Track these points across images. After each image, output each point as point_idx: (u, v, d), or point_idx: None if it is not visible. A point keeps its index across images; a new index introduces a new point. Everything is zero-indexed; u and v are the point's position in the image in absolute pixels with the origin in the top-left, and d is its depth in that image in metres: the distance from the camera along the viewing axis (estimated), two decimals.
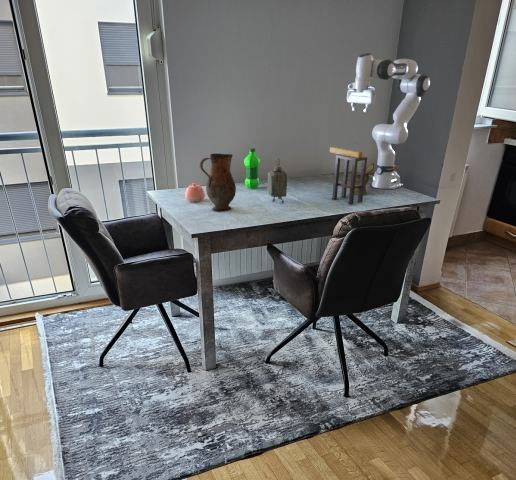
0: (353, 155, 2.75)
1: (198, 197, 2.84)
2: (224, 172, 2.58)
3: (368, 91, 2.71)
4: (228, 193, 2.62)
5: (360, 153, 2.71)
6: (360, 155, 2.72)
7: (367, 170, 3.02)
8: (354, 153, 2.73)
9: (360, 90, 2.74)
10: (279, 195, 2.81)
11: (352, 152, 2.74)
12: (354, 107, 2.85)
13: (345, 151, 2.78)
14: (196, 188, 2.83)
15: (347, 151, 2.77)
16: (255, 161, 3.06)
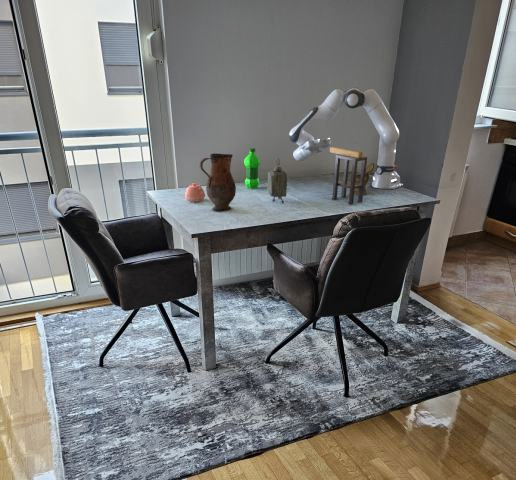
0: (353, 155, 2.75)
1: (198, 197, 2.84)
2: (224, 172, 2.58)
3: (306, 149, 3.04)
4: (228, 193, 2.62)
5: (360, 153, 2.71)
6: (360, 155, 2.72)
7: (367, 170, 3.02)
8: (354, 153, 2.73)
9: (312, 150, 3.08)
10: (279, 195, 2.81)
11: (352, 152, 2.74)
12: None
13: (345, 151, 2.78)
14: (196, 188, 2.83)
15: (347, 151, 2.77)
16: (255, 161, 3.06)
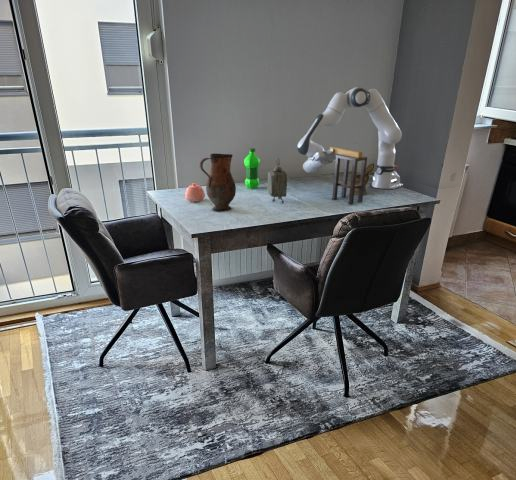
0: (353, 155, 2.74)
1: (198, 197, 2.84)
2: (224, 172, 2.58)
3: (317, 161, 2.92)
4: (228, 193, 2.62)
5: (360, 153, 2.71)
6: (360, 155, 2.72)
7: (367, 170, 3.02)
8: (354, 153, 2.73)
9: (323, 161, 2.95)
10: (279, 195, 2.81)
11: (352, 153, 2.74)
12: None
13: (345, 151, 2.78)
14: (196, 188, 2.83)
15: (347, 151, 2.77)
16: (255, 161, 3.06)
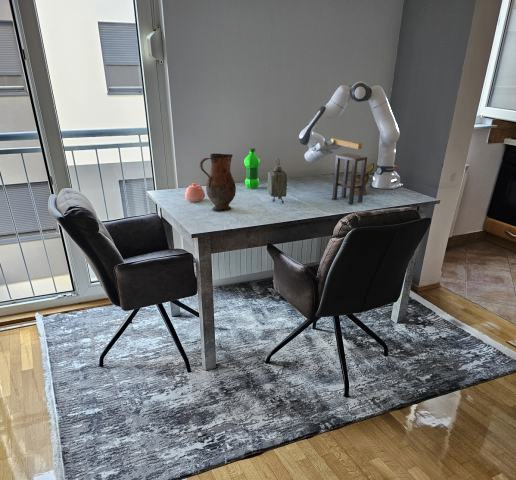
0: (352, 146, 2.85)
1: (198, 197, 2.84)
2: (224, 172, 2.58)
3: (318, 151, 3.02)
4: (228, 193, 2.62)
5: (359, 145, 2.82)
6: (359, 147, 2.82)
7: (367, 170, 3.02)
8: (354, 144, 2.84)
9: (324, 152, 3.05)
10: (279, 195, 2.81)
11: (352, 144, 2.84)
12: None
13: (345, 142, 2.88)
14: (196, 188, 2.83)
15: (347, 142, 2.87)
16: (255, 161, 3.06)
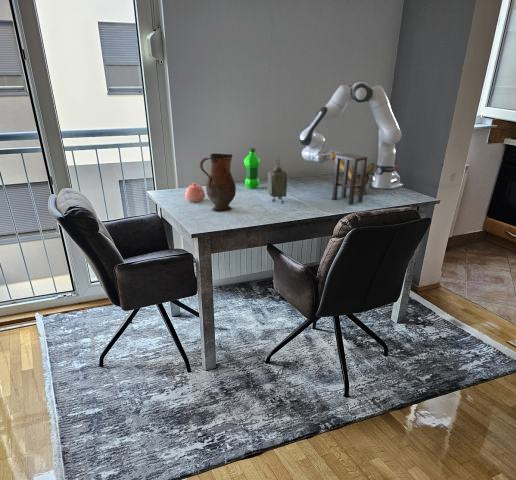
0: None
1: (198, 197, 2.84)
2: (224, 172, 2.58)
3: None
4: (228, 193, 2.62)
5: None
6: None
7: (367, 170, 3.02)
8: (349, 173, 2.94)
9: (321, 160, 3.10)
10: (279, 195, 2.81)
11: (348, 172, 2.94)
12: None
13: (342, 166, 2.96)
14: (196, 188, 2.83)
15: None
16: (255, 161, 3.06)
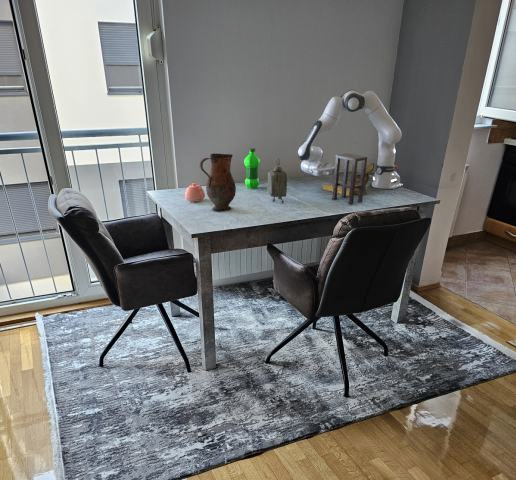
0: None
1: (198, 197, 2.84)
2: (224, 172, 2.58)
3: None
4: (228, 193, 2.62)
5: None
6: None
7: (367, 170, 3.02)
8: None
9: None
10: (279, 195, 2.81)
11: None
12: None
13: None
14: (196, 188, 2.83)
15: (338, 189, 3.05)
16: (255, 161, 3.06)
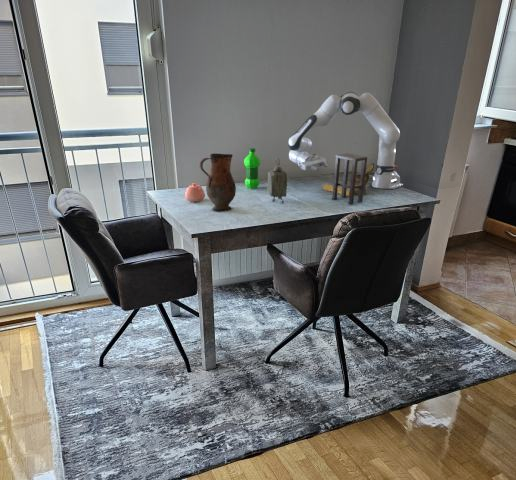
0: None
1: (198, 197, 2.84)
2: (224, 172, 2.58)
3: None
4: (228, 193, 2.62)
5: None
6: None
7: (367, 170, 3.02)
8: None
9: None
10: (279, 195, 2.81)
11: None
12: None
13: None
14: (196, 188, 2.83)
15: (338, 189, 3.05)
16: (255, 161, 3.06)
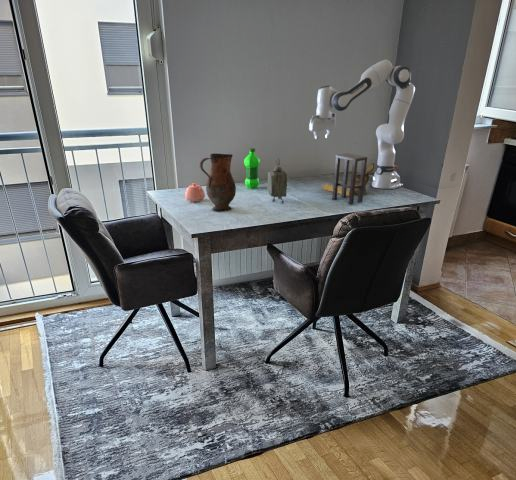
0: None
1: (198, 197, 2.84)
2: (224, 172, 2.58)
3: None
4: (228, 193, 2.62)
5: None
6: None
7: (367, 170, 3.02)
8: None
9: None
10: (279, 195, 2.81)
11: None
12: (327, 134, 3.06)
13: None
14: (196, 188, 2.83)
15: (338, 189, 3.05)
16: (255, 161, 3.06)
